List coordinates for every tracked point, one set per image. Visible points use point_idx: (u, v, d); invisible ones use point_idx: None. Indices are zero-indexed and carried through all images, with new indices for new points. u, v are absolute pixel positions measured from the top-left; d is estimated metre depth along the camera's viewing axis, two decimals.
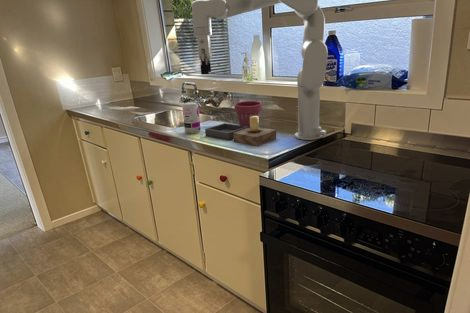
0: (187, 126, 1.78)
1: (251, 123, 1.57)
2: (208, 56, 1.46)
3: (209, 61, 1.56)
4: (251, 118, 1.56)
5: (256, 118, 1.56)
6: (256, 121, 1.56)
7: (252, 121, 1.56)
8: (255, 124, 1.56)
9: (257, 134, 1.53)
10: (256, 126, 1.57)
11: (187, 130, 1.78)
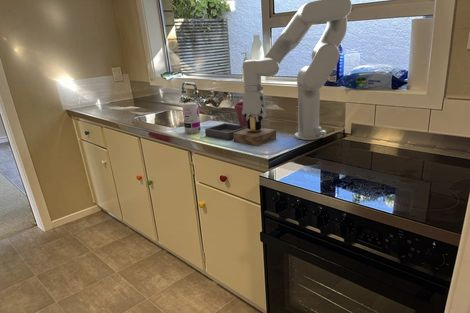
0: (187, 126, 1.78)
1: (251, 123, 1.57)
2: (265, 110, 1.54)
3: None
4: (251, 118, 1.56)
5: None
6: None
7: (252, 121, 1.56)
8: None
9: (257, 134, 1.53)
10: None
11: (187, 130, 1.78)
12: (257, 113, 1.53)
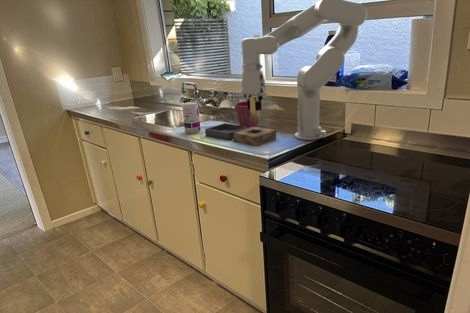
0: (187, 126, 1.78)
1: (251, 103, 1.54)
2: (265, 90, 1.51)
3: None
4: (251, 98, 1.53)
5: None
6: None
7: (252, 101, 1.53)
8: (255, 105, 1.53)
9: (257, 134, 1.53)
10: None
11: (187, 130, 1.78)
12: (257, 92, 1.50)
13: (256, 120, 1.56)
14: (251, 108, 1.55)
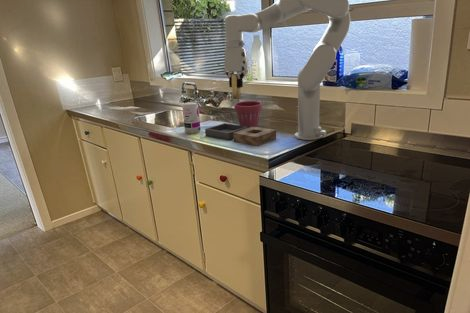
0: (187, 126, 1.78)
1: (232, 80, 1.57)
2: (246, 67, 1.55)
3: None
4: (232, 75, 1.56)
5: None
6: (237, 78, 1.56)
7: (233, 78, 1.56)
8: (236, 82, 1.56)
9: (257, 134, 1.53)
10: None
11: (187, 130, 1.78)
12: (238, 69, 1.53)
13: (237, 97, 1.59)
14: (232, 85, 1.58)
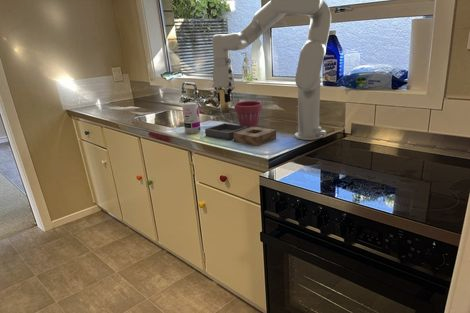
0: (187, 126, 1.78)
1: (220, 95, 1.65)
2: (233, 83, 1.63)
3: None
4: (220, 91, 1.64)
5: None
6: (225, 93, 1.64)
7: (221, 93, 1.64)
8: (224, 97, 1.65)
9: (257, 134, 1.53)
10: None
11: (187, 130, 1.78)
12: (226, 85, 1.61)
13: (225, 111, 1.67)
14: (221, 100, 1.66)
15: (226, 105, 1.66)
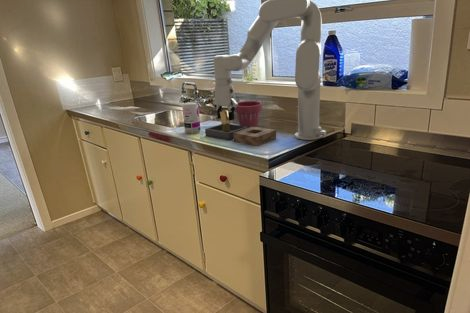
0: (187, 126, 1.78)
1: (221, 117, 1.68)
2: None
3: (221, 108, 1.72)
4: (221, 113, 1.67)
5: (226, 112, 1.67)
6: (226, 115, 1.67)
7: (222, 115, 1.67)
8: (225, 118, 1.68)
9: (257, 134, 1.53)
10: (226, 120, 1.68)
11: (187, 130, 1.78)
12: (227, 105, 1.64)
13: None
14: (222, 122, 1.69)
15: (228, 126, 1.69)
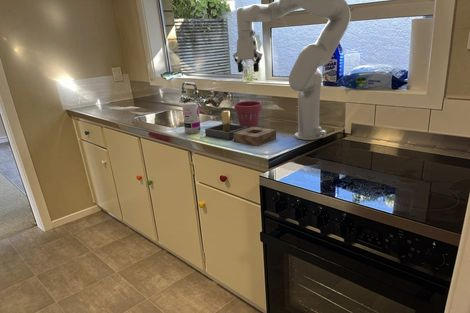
0: (187, 126, 1.78)
1: (223, 117, 1.68)
2: (258, 55, 1.66)
3: (241, 62, 1.73)
4: (223, 113, 1.67)
5: (227, 113, 1.67)
6: (227, 115, 1.67)
7: (224, 115, 1.67)
8: (226, 119, 1.68)
9: (257, 134, 1.53)
10: (227, 120, 1.68)
11: (187, 130, 1.78)
12: (251, 57, 1.64)
13: None
14: (223, 121, 1.69)
15: (228, 126, 1.69)
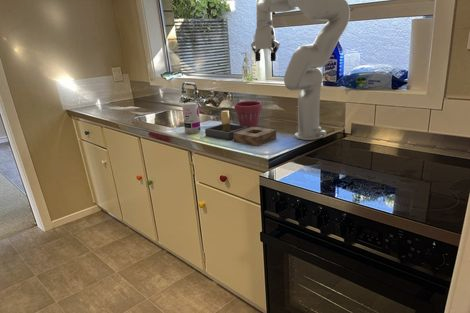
0: (187, 126, 1.78)
1: (222, 117, 1.68)
2: (275, 45, 1.71)
3: None
4: (222, 112, 1.67)
5: (226, 112, 1.67)
6: (227, 115, 1.68)
7: (223, 115, 1.68)
8: (226, 118, 1.68)
9: (257, 134, 1.53)
10: (227, 120, 1.68)
11: (187, 130, 1.78)
12: (268, 46, 1.69)
13: None
14: (222, 121, 1.69)
15: (228, 126, 1.69)
